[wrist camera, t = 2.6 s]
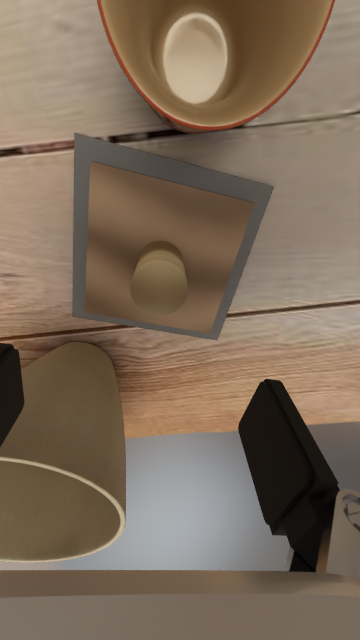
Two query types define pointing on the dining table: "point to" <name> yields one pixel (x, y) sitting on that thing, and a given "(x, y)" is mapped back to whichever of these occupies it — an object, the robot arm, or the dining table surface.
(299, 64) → the mug
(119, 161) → the mat
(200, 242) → the lid
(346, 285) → the dining table surface
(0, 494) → the plant pot
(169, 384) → the dining table surface
